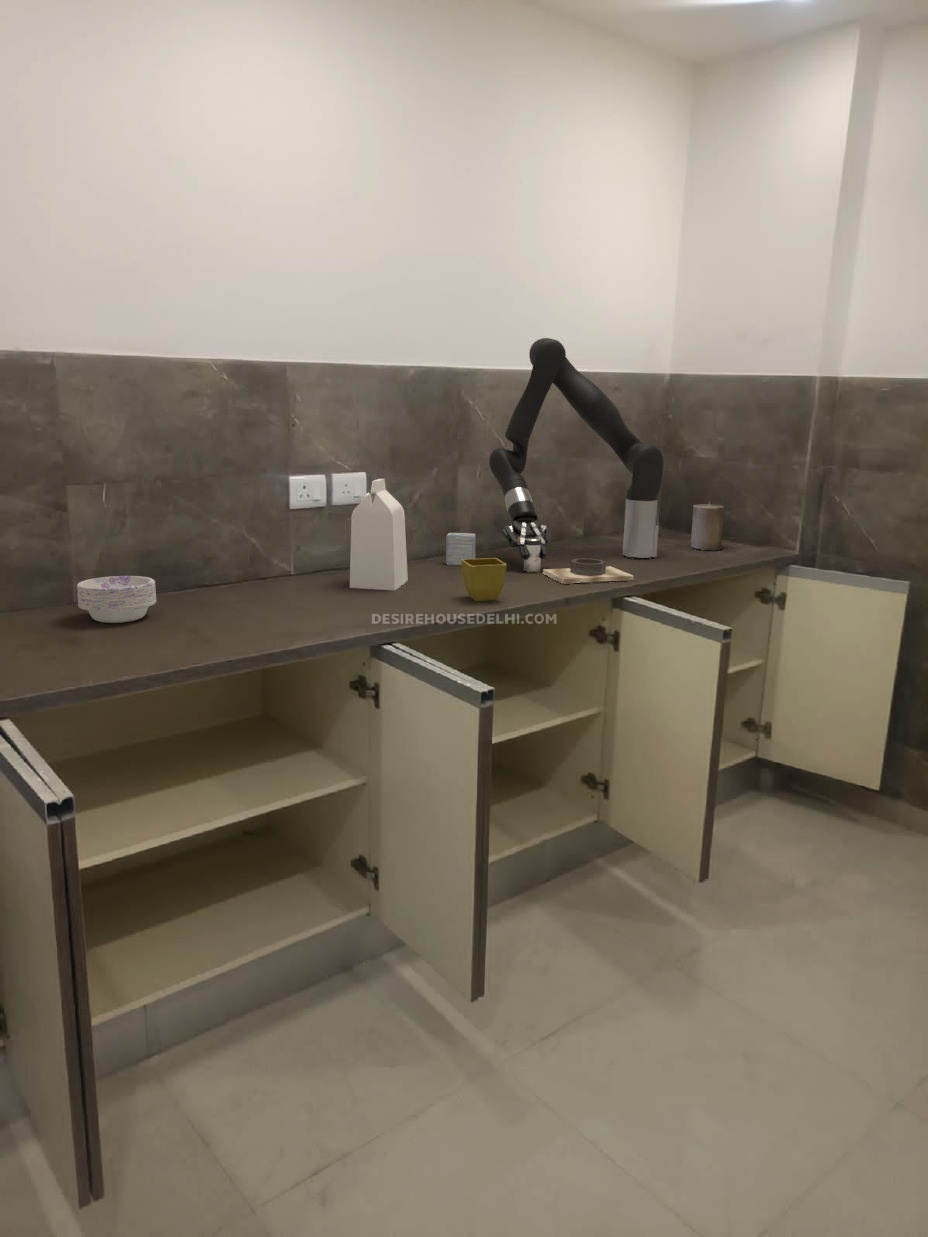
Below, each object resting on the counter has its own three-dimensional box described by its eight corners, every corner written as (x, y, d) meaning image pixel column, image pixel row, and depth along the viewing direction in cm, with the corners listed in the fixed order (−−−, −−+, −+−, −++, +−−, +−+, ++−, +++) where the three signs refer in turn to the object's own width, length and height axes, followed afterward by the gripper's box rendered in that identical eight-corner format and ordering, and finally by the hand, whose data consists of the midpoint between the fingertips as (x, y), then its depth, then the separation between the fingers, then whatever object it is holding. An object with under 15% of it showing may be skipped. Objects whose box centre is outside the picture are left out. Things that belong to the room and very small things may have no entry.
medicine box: (475, 563, 251) (475, 533, 249) (473, 566, 247) (474, 535, 245) (447, 562, 252) (448, 532, 250) (445, 565, 247) (446, 534, 245)
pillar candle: (725, 548, 284) (728, 501, 281) (716, 552, 276) (719, 504, 272) (695, 545, 289) (698, 499, 286) (685, 549, 281) (689, 502, 278)
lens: (536, 569, 244) (537, 537, 242) (542, 572, 240) (544, 539, 237) (521, 570, 242) (522, 537, 240) (527, 573, 238) (528, 540, 236)
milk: (394, 590, 215) (394, 483, 208) (349, 587, 217) (348, 481, 210) (407, 580, 226) (407, 478, 220) (364, 578, 228) (363, 476, 222)
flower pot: (469, 604, 202) (470, 565, 200) (459, 596, 210) (460, 558, 208) (506, 602, 204) (507, 564, 202) (495, 594, 212) (496, 557, 210)
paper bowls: (132, 606, 195) (129, 570, 193) (171, 617, 185) (169, 580, 183) (65, 618, 183) (61, 581, 181) (103, 631, 174) (100, 592, 172)
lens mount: (610, 571, 242) (611, 555, 241) (633, 581, 230) (634, 564, 229) (542, 574, 236) (543, 558, 235) (562, 584, 224) (563, 567, 223)
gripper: (499, 499, 241) (514, 550, 233) (548, 498, 245) (563, 548, 237) (492, 516, 247) (506, 566, 239) (540, 515, 252) (555, 564, 243)
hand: (535, 557), depth 238 cm, fingers closed on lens, 4 cm apart
